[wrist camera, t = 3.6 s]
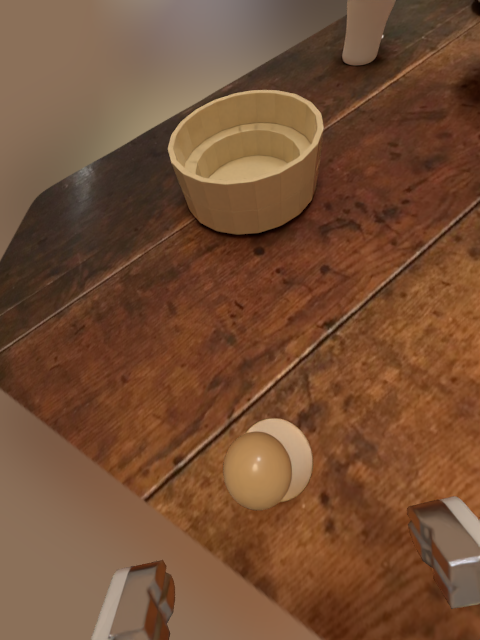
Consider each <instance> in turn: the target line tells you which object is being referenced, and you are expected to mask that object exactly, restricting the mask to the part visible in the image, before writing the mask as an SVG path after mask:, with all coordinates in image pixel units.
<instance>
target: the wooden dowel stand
mask: <svg viewBox="0 0 480 640" xmlns="http://www.w3.org/2000/svg"><path fill="white" fill-rule="evenodd" d="M312 470H313V455H312V450H311V447H310V445H309V442H308V440H307V438H306V437H305V435H304V434H303V433H302V432H301V430H300V429H299V428H297V427H296V426H295V425H294V424H292V423H290V422H288V421H286V420H283V419H279V418H268V419H263V420H261V421H259V422H257V423H255V424H254V425H252V426H251V427H250V428H249V429H248V430H247V432H246V433H245V434H244V435H242V436H240V437H238V438H237V439H236V440H235V441H234V442H233V443H232V444H231V445H230V447H229V449H228V450H227V453H226V455H225V458H224V463H223V476H224V481H225V484H226V487H227V489H228V491H229V493H230V495H231V496H232V497H233V498H234V500H235V501H236V502H238V503H239V504H240V505H242V506H244V507H246V508H247V509H251V510H266V509H269V508H271V507H273V506H275V505H276V504H278V503H279V502H284V501H288V500H291V499H293V498H295V497H296V496H298V495H299V494H300V493H301V492H302V491H303V490H304V489H305V487H306V486H307V484H308V482H309V480H310V478H311V475H312Z"/></svg>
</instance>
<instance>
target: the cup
mask: <svg viewBox="0 0 480 640" xmlns="http://www.w3.org/2000/svg"><path fill="white" fill-rule="evenodd" d="M394 3H395V0H348V1H347V29H346V38H345V44H344V49H343V54H342V58H343V61H344V62H345V63H346V64H349V65H365V64H368V63H370V62H372V61H373V60H374V59H375V58H376V56H377V53H378V49H379V45H380V41H381V38H382V34H383V31H384V27H385V24H386V21H387V19H388V16H389V14H390V12H391V10H392V8H393V6H394Z"/></svg>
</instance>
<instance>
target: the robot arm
mask: <svg viewBox="0 0 480 640" xmlns="http://www.w3.org/2000/svg"><path fill="white" fill-rule="evenodd" d="M407 515H408V516H409V518H410V520H411V521H410V522H409V524H408V528H409V533H410V536H411V539H412V542H413V544H414V546H415V548H416V550H417V552H418V553H419V555H420V557H421V559H422V560H423V561H424V562H425V563H426V564H428V565H429V566H430V567H432V568H433V577H434V580H435V582H436V584H437V585H438V587H439V589H440V590H441V592H442V594H443V595H444V597H445V599H446V600H447V602H448V604H449V605H450V607H451V609H453V608H459V607H465V606H472V605H478V604H480V520H479V519H478V518H477V517H476V516H475V515H474V514H473V513H472V511H471V510H470V509H469V508H468V507H467V506H466V505H465V504H464V502H463V501H462V500H461V499H459V498H458V497H454V496H453V497H449V498H444V499H440V500H434V501H430V502H426V503H421V504H417V505H413V506H409V507H408V508H407ZM174 602H175V586H174V581H173V578H172V576H171V575H170V574H168V573H166V565H165V563H164V561H163V560H161V561H156V562H152V563H147V564H142V565H138V566H131V567H127V568H122V569H118V570H117V571H116V573H115V574H114V576H113V577H112V581H111V583H110V586H109V589H108V592H107V595H106V597H105V601H104V603H103V606H102V609H101V612H100V615H99V617H98V620H97V623H96V626H95V629H94V632H93V635H92V638H91V640H169V637H170V631H169V629H168V626H167V622H168V621H169V619H170V617H171V615H172V614H173V609H174Z"/></svg>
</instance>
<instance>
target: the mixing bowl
mask: <svg viewBox="0 0 480 640" xmlns="http://www.w3.org/2000/svg"><path fill="white" fill-rule="evenodd" d="M323 130H324V127H323V121H322V115H321V113H320V112H319V111H318V109H317V108H316V107H315V106H314V105H313V104H312V103H311V102H310V101H308V100H306V99H304V98H302V97H300V96H298V95H296V94H292V93H287V92H283V91H278V90H253V91H247V92H241V93H235V94H232V95H229V96H225V97H222V98H219V99H216V100H214V101H212V102H210V103H208V104H206V105H204V106H202V107H200V108H198V109H196V110H195V111H194V112H192V113H191V114H190V115H189V116H187V117H186V118H185V119H184V120H182V121H181V122H180V124H179V125H178V126H177V128H176V129H175V131H174V132H173V133H172V135H171V139H170V142H169V146H168V152H169V155H170V159H171V163H172V165H173V168H174V171H175V173H176V176H177V178H178V181H179V184H180V186H181V188H182V191H183V194H184V196H185V199H186V202H187V204H188V207H189V209H190V211H191V213H192V214H193V215H194V216H195V217H196V218H197V220H198V221H199V222H200V223H201V224H203V225H205V226H207V227H209V228H211V229H213V230H215V231H219V232H225V233H231V234H237V235H239V234H252V233H260V232H263V231H267V230H270V229H273V228H276V227H279V226H282V225H283V224H285V223H286V222H288V221H290V220H291V219H293V218H294V217H296V216H298V215H299V214H300V213H301V212H302V211H303V210H304V208H305V207H306V206H307V205H308V204H309V203H310V202H311V200H312V197H313V195H314V192H315V189H316V186H317V178H318V170H319V162H320V154H321V146H322V138H323Z"/></svg>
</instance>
